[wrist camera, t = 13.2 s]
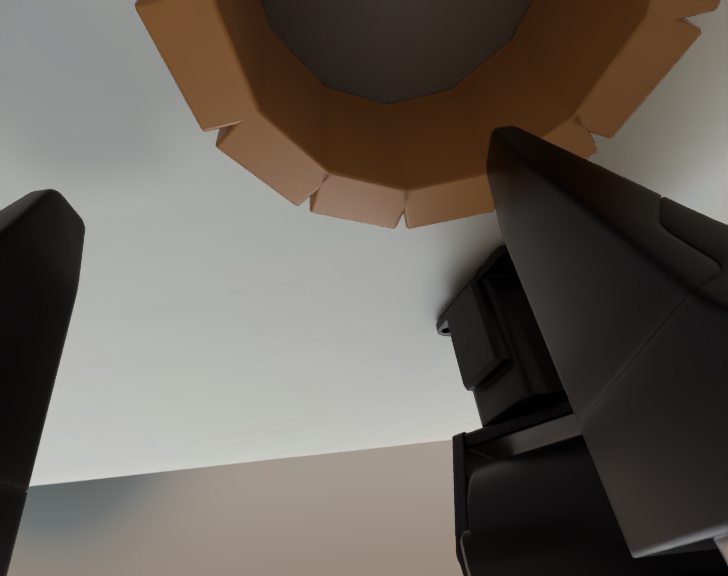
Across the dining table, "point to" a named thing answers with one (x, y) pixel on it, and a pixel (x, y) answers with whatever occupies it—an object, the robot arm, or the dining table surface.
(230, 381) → the dining table surface
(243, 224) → the dining table surface
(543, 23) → the brown grooved ring
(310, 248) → the dining table surface
